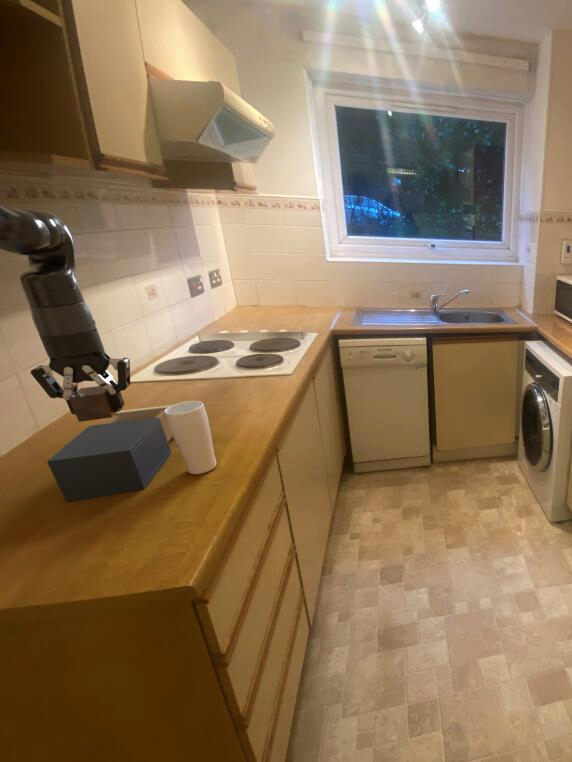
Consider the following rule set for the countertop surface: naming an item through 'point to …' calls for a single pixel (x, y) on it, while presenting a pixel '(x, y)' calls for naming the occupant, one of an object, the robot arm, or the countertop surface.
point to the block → (91, 404)
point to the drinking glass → (192, 435)
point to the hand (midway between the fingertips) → (100, 412)
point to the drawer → (144, 417)
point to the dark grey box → (110, 459)
